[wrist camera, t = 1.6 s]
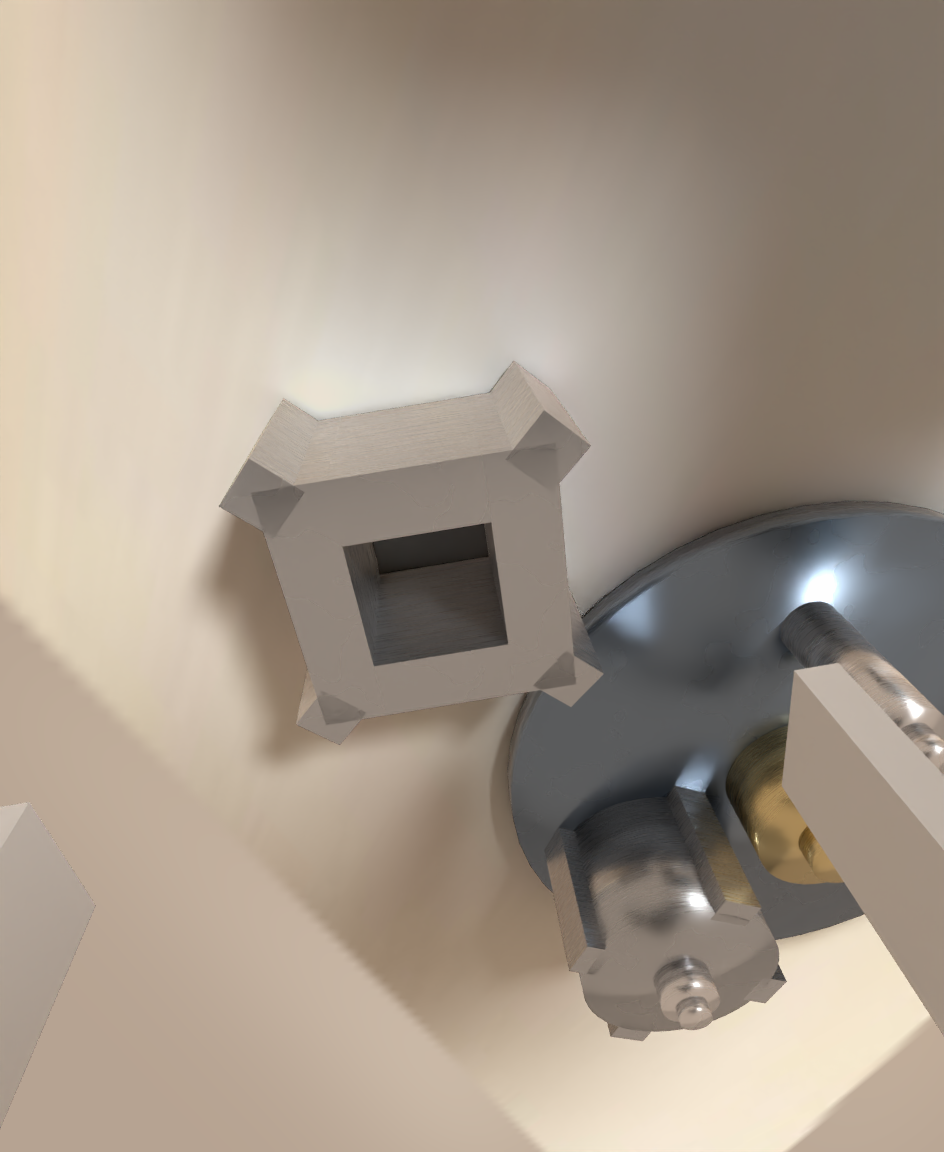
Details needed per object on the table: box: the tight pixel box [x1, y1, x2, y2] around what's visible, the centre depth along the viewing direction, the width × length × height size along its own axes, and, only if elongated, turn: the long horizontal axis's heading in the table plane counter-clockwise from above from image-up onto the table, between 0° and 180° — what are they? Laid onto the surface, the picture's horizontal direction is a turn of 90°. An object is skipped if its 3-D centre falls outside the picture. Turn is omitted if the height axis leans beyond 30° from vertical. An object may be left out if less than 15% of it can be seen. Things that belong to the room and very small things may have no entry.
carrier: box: [508, 501, 944, 1041], centre depth 25 cm, size 22×22×8 cm
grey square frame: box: [219, 361, 604, 745], centre depth 20 cm, size 9×9×5 cm
